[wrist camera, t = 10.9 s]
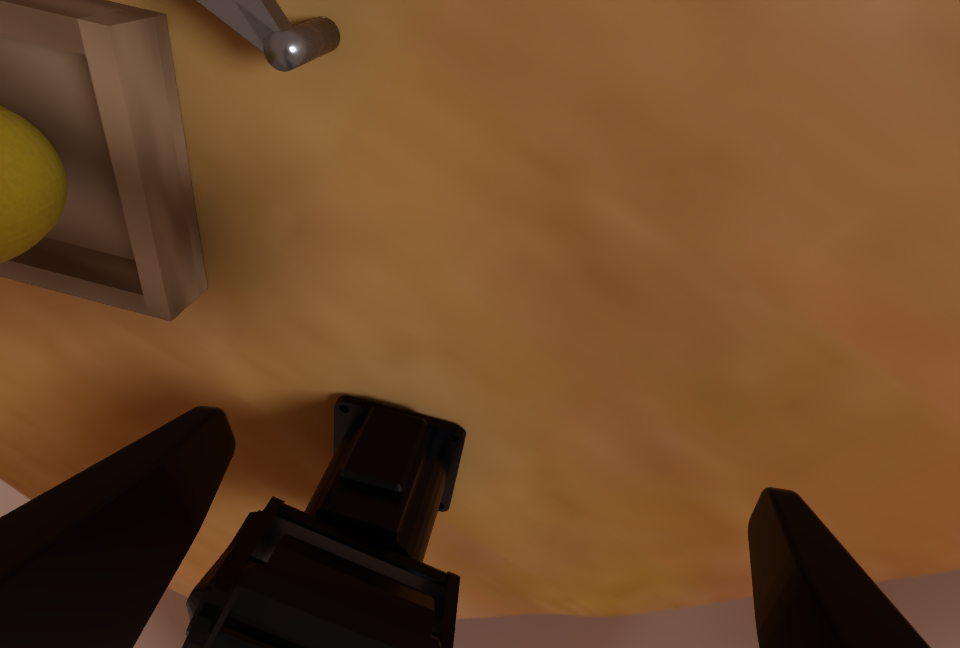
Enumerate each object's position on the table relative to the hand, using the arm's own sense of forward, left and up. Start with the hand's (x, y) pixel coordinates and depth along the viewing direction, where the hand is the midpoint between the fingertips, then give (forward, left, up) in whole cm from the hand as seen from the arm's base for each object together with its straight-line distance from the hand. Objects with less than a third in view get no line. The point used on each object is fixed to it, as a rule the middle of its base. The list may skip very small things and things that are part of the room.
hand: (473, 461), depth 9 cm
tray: (-3, +19, -12) cm, 23 cm away
